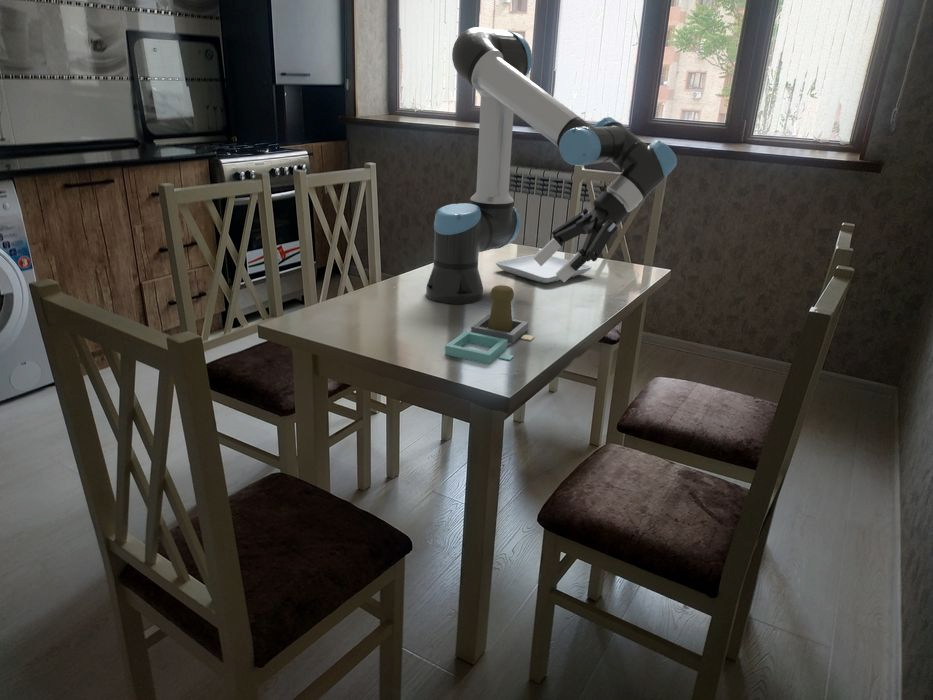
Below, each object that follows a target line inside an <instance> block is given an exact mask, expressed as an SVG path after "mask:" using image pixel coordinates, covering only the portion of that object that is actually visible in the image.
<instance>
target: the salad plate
mask: <svg viewBox="0 0 933 700" xmlns="http://www.w3.org/2000/svg"><path fill="white" fill-rule="evenodd" d="M536 254H537V253H536ZM536 254H529V255H528V254H527V255H522V256H518V257H514V258H509V259H505V260H500V261H495V264H496V266H497V267H498V268H499V269H500V270H502V271H504V272H507V273H509V274H513V275H515V276H518V277H521V278H525V279H527V280H530V281H534V282H537V283H541V284H551V283H555V281H556V282H559V280H560V281H562V280H561V279H560V278H559V277H558V276H557V275H556V273H557V272H558V271H559V270H560V269H561V268H562V267H563V266H564V265H565V264H566V263H567V262H568V261H569V260H570V259H565V258H561V257H557V256H554V255H552V256H551V257H550V258H549V259H548V260H547V261H546V262H545V263H544V264H543V265H542V266H540V265H539V264H538V263H537V262H536V260H535V259H534V258H533V257H534V256H535V255H536ZM591 269H592V266H591V265H587V264H585V263H584V264H583V265H582V266H581V267H580V268H579V269H578V270H577V271H576V272H575V273H574V274H573V275H572V276H571V277H572V278H575V277H577V276H580V275H583V274H585V273H587V272H589V271H590V270H591ZM571 277H570V278H569V279H571ZM550 282H551V283H550Z"/></svg>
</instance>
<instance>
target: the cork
mask: <svg viewBox="0 0 933 700" xmlns="http://www.w3.org/2000/svg"><path fill="white" fill-rule="evenodd" d="M514 296H515V292H514V290H513V288H512V287H511V286H508V285H503V284H500V285H495V286H493V287H492V289H491V291H490V298H491V300H492V304H491V309H490V314H489V315H490V318H489V323H488V327H487V328H489V329H494V330H499V331H504V332H509V333H510V332H511V331H512V330H513V327H512V319H513V316H512V315H513V314H512V313H513V312H512V301H513V300H514Z"/></svg>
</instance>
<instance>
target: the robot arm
mask: <svg viewBox="0 0 933 700" xmlns="http://www.w3.org/2000/svg"><path fill="white" fill-rule="evenodd" d="M451 55H452V56H451V57H452V58H451V60H452V64H453V67H454V69H455V71H456V72H457V74H458V75H459V76H460V77H461V78H462V79H463V80H464V81H465V82H466V83H467V84H469V85H470V86H471V87H473V88H474V89H475V90H476V91H477V93H478V94H479V96H480V102H479V105H480V109H479V125H478V126H479V129H478V130H479V131H478V151H477V172H476V174H477V175H476V190H475V191H476V192H475V193H474V194H473V195H472V196H471V197H470V200H469V203H467V202H464V203H463V202H460V203H450V204H446V205H443V206H442V207H440V208H438V209H437V210H436V212H435V216H434V222H433V229H434V230H433V267H432V270H431V272H430V275H429V278H428V282H427V284H426V287H425V288H426V294H425V295H426V297H427V296H428V297H429V298H428V297H427V298H428V299H430V298H431V299H430V300H432V299H433V300H432V301H434V302H439V303H444V304H449V305H450V304H452V305H462V304H463V305H464V304H471V303H476V302H478V301H481V300H483V297H484V286H483V282H482V278H481V275H480V271H479V254H480V253H483V252H487V251H490V250H496V249H501V248H504V247H506V246H507V245H509V244H511V243H512V242H513V241H515V239H516V238H517V236H518V234H519V232H520V228H521V218H520V217H521V216H520V214H519V213H518V212H517V211H518V209H517V208H516V207H514V204H515V203H514V198H513V197H512V196H511V195H510V193H509V190H510V189H509V188H510V173H511V162H512V161H511V158H512V146H513V145H512V141H513V140H512V139H513V130H514V129H513V127H514V115H517V116H518V117H519V118H520V119H521V120H523V122H526V123H527V124H528V125H529V126H530V127H532V128H533V129H534V130H536V131H537V132H538V133H540V134H541V135H542V136H543V137H545V139H547V140H549V141H550V142H551V143H552V144H554V145H555V146H557V147H558V149H559V153H560V155H561V157H562V160H563V161H565V162H566V163H567V164H569V165H570V166H580V167H581V166H582V167H583V166H588V165H589V166H590V165H594V164H602V163H609V162H610V163H611V164H613V165H614V166H615V167H616V168H617V169H618V170H620V171H621V173H620V174H619V175H617V177H616V178H615V179H613V181H612V182H610V183H609V184H608V186H606V190H605V191H604V190H603V191H602V192H601V193H600V194H599V195H598V196H597V197H596V198H595V199H594V200H593V203H592V205H593V206H594V208H593V210H591V211H589V210H588V209H587V208H586V207H585V208H584V209H582V210H581V211H580V212H578V214H577V215H575V216H573V217H572V218H570V219H569V220H568V221H565V222H564V223H563V224H562V225H560V226H559V227H557V228H556V229H554V230H552V232H551V235H552V238H551V239H550V240H549V241H548V242H547V243H546V245H544V246H543V247H542V248H541V249H540V250H539V251H538V252H537V253H536V255H535V256H534V257H533V258H534V259H535V260H536V262H537V263H538V264H539V265H540V266H542V265H543V264H544V263H545V262H546V261H547V260H548V259H549V258H550V257H551V256H554V254H556V252H558V250H559V249H560V248H562V247H563V245H564V243H566V242H568V241H570V240H572V239H575V238H576V237H578V236H580V235H586V238H585V240H584V243H583V245H582V248H580V249H579V250H577V252H575V253H574V255H573V256H572V257H571V258H570V259H568V260H569V261H568V262H567V263H566V264H565V265H564V266H563V267H562V268H561V269H560V270H559V271H558V272H557V273H556V275H557V276H558V277H559V278H560V279H561V280H560V281H562V283H566V282H567V281H568V280H569V279H571V278H570V277H571V276H572V275H573V274H574V273H575V272H576V271H577V270H578V269H579V268H580V267H581V266H582V265H583V264H584V265H585V263H586V262H590V261H592V262H596V261H597V260H598V258H599V256H600V255H601V253H602V252H603V250H604V249H605V246H606V245H607V243H608V241H609V240H610V239H611V237H612V235H613V234H614V233H615V232H616V231H617V230H618V225H619V224H620V223H621V222H623V220H625V218H626V217H627V216H628V213H631V212H632V211H633V210H634V209H635V208H637V207H638V206H639V204H640V203H641V202H642V201H643V200H644V199H645V198H646V197H647V196H648V195H649V194H651V192H652V191H653V190H655V188H657V186H659V185H660V184H661V182H663V181H665V179H666V178H667V177H668V176H669V174H671V172H672V171H673V170H674V169H675V168H676V167H677V165H678V159H677V156H676V153H675V152H674V151H673V149H671V148H670V147H669V145H667V144H666V142H665V143H664V142H662V141H661V140H653V141H652V142H651V143H650V144H647V143H646V142H643V141H642V140H641V139H640V138H639V137H637V136H636V135H634V133H632V132H631V131H630V130H629V129H627V128H626V127H625V126H624V125H623V124H622V122H619V121H617V120H615V119H614V118H613V117H610V116H605V117H603V118H602V119H599V121H597V122H596V123H595V124H594V125H591V124H590V123H588V122H587V121H585V120H584V119H583V118H581V117H580V116H579V115H578V114H576V113H575V112H574V111H572V110H571V109H570V108H568V107H567V106H566V105H564V104H563V103H562V102H560V101H559V100H558V99H556V98H555V97H553V95H551V94H549V93H548V92H547V91H546V90H545V89H543V88H542V87H540V86H539V85H538V84H536V82H533V80H531V79H530V78H528V77H527V75H528V74H530V71H531V69H532V65H533V53H532V50H531V47H530V45H529V43H528V41H527V40H526V39H525V37H524V36H523V35H521V34H520V33H517V32H514V31H510V30H506V29H494V28H487V27H486V28H485V27H478V26H476V27H475V26H474V27H470V28H468V29H466V30H464V31H463V32H462V33H460V34H459V35H458V37H457V38H456V40H455V42H454V44H453V48H452V52H451Z"/></svg>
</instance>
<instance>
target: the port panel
mask: <svg viewBox="0 0 933 700" xmlns="http://www.w3.org/2000/svg"><path fill="white" fill-rule="evenodd" d="M489 318H490V314H487V315H486V316H484V317H483V318H482V319H480V320H479V321H478V322H477V323H475V324H474V325H472V326H471V327H470V331H467V330H465V331H464V332H462V333H460V334H459V335H458V336H457V337H455V338H454V339H452V340H451V341H450V342H448V343H447V344H446V345H444V346H445V347H444V348H445V349H444V355H445V356H449V357H455V358H460V359H464V360H467V361H468V360H469V361H473V362H478V363H482V364H487V365H490V364H491V363H492V362H493V361H495V360H496V359H497V358H498V359H500V360H505V361H511V360H512V359H513V358H514V357H515V356H514V355H512V354H507V353H504V352H505V351H506V350H507V349H508V348H509V347H510V346H512V344H514V343H515V342H516V341H517V340H518V339H519V338H520V339H521V340H525V341H530V342H532V340H534V338H536V337H535V336H534V335H530V334H525V333H526V332H527V331H528V330H529V321H524V320H520V319H515V318H512V327H513V330H512V331H511V332H510V333H509V332H504V331H499V330H494V329H489V328H488V323H489ZM467 343H469V344H470V343H471V344H475V345H479V346H484V347H489V349H487V351H483V350H478V349H474V348H469V347H465V345H466V344H467Z"/></svg>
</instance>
